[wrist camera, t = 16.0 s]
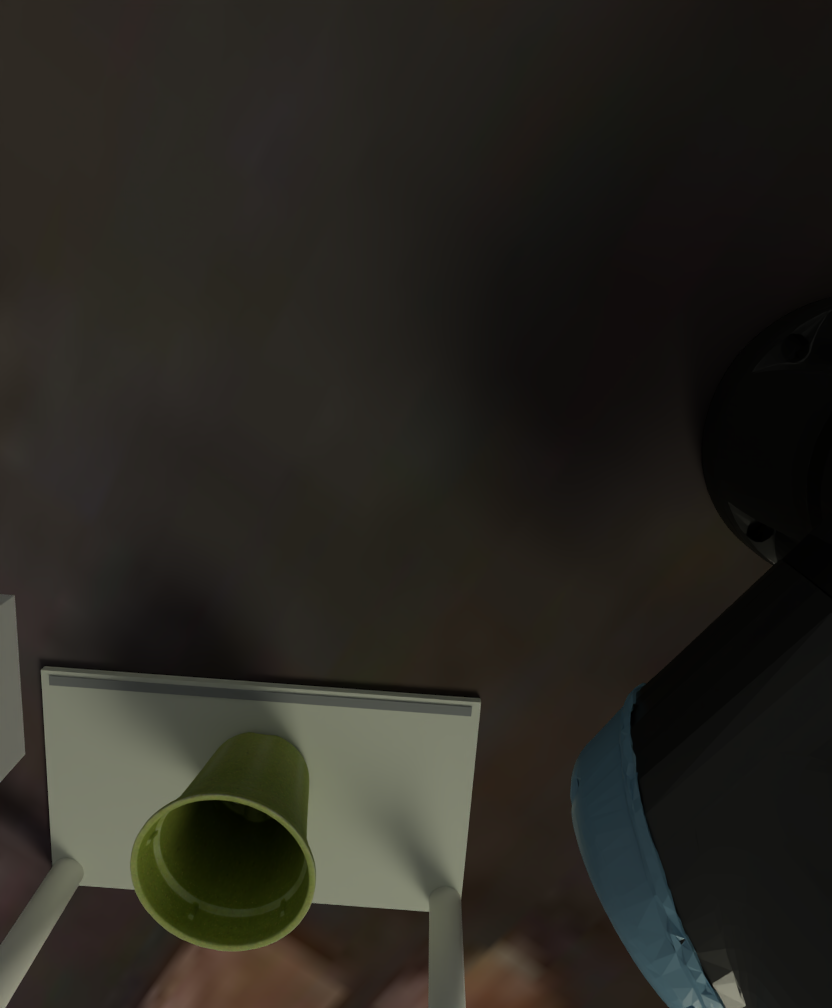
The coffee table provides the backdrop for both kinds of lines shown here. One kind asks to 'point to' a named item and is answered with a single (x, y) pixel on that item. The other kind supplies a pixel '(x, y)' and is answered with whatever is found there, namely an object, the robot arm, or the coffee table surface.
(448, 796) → the mat
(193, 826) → the plant pot
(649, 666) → the coffee table surface
